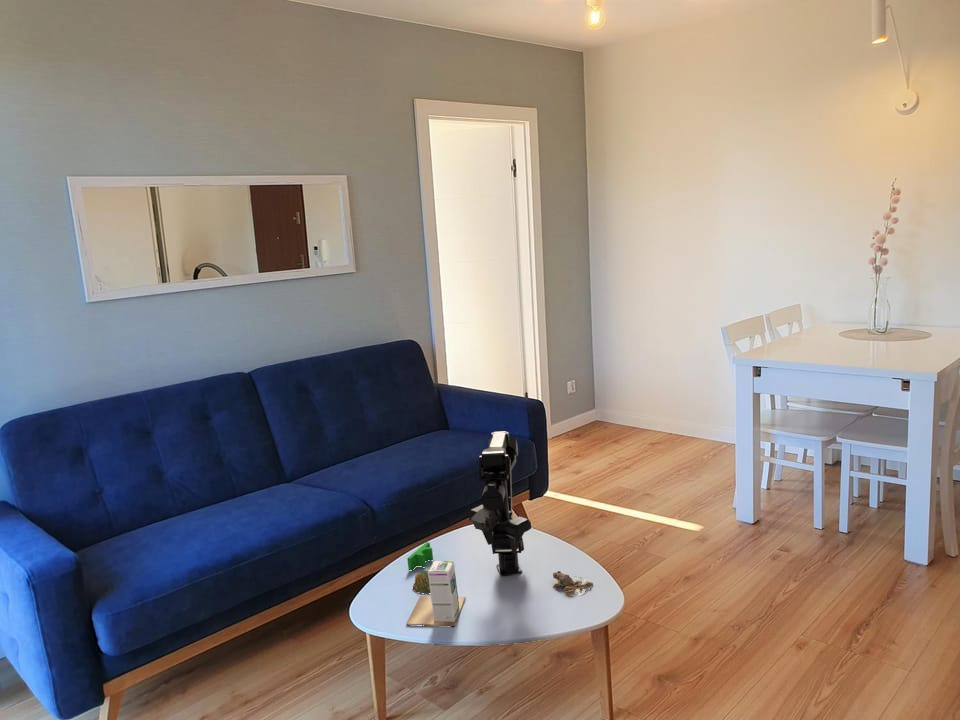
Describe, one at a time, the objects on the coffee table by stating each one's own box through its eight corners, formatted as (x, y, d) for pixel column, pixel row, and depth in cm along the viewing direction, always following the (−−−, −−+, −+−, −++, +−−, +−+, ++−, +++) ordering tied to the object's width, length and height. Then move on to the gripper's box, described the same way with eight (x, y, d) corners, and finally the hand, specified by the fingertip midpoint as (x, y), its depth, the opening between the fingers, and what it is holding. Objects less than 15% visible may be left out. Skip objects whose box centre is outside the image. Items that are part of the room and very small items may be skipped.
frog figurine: (540, 592, 206) (539, 580, 205) (563, 574, 215) (563, 562, 214) (576, 603, 198) (575, 590, 198) (598, 584, 207) (597, 571, 207)
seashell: (424, 584, 207) (404, 573, 214) (425, 598, 207) (404, 586, 215) (452, 573, 213) (432, 563, 221) (453, 587, 214) (432, 576, 221)
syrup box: (454, 622, 192) (449, 571, 190) (433, 621, 194) (427, 570, 191) (459, 610, 198) (454, 560, 195) (438, 610, 199) (433, 560, 196)
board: (406, 625, 194) (406, 623, 194) (420, 597, 208) (420, 595, 207) (454, 627, 192) (454, 624, 191) (465, 598, 205) (465, 596, 205)
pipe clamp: (419, 573, 222) (417, 559, 221) (408, 572, 224) (407, 558, 223) (438, 556, 232) (436, 543, 231) (428, 555, 233) (426, 541, 232)
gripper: (452, 497, 202) (457, 550, 205) (501, 513, 189) (506, 569, 192) (481, 484, 210) (485, 536, 213) (530, 499, 196) (534, 553, 200)
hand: (501, 548), depth 204 cm, fingers open, 9 cm apart
